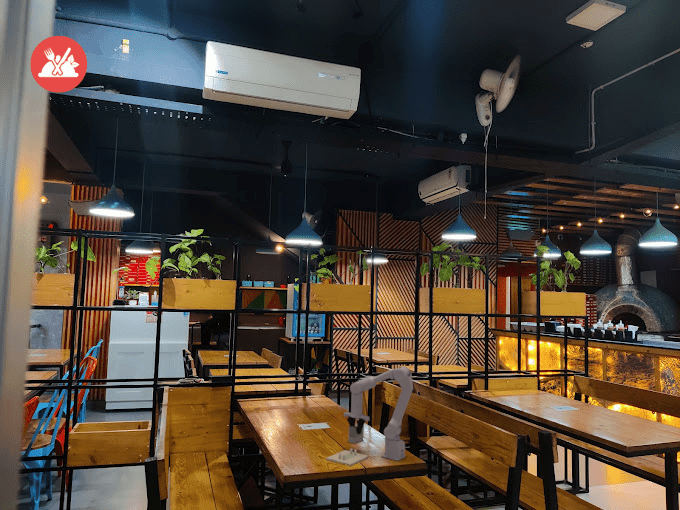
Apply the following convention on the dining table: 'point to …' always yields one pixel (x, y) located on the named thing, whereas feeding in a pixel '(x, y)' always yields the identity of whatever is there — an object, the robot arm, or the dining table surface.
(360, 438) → the medicine box
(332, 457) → the pin tray
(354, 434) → the block
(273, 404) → the dining table surface
